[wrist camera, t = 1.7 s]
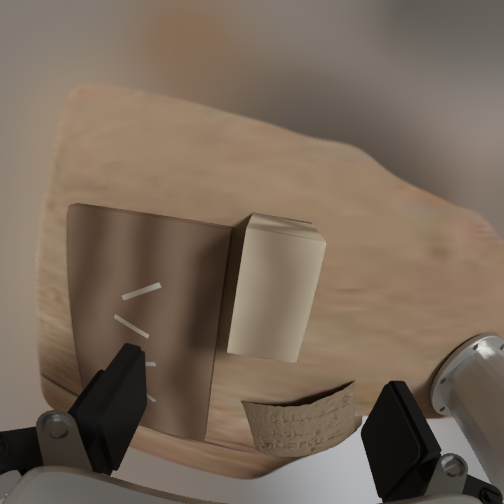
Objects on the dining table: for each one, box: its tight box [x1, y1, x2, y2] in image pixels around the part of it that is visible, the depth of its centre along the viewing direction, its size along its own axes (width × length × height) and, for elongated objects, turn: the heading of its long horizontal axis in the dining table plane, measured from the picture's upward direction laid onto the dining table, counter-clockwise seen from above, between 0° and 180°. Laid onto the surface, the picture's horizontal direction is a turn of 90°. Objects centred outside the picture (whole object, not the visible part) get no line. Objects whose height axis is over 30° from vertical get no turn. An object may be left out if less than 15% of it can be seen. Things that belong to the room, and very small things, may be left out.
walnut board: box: [68, 203, 233, 442], centre depth 29 cm, size 16×26×2 cm, turn 171°
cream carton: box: [227, 213, 327, 363], centre depth 23 cm, size 5×9×8 cm, turn 171°
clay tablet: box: [241, 381, 363, 457], centre depth 31 cm, size 14×10×3 cm
